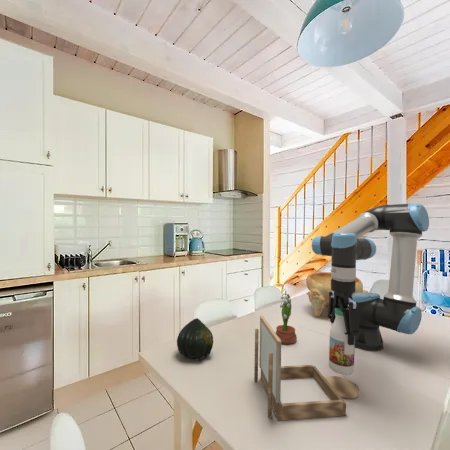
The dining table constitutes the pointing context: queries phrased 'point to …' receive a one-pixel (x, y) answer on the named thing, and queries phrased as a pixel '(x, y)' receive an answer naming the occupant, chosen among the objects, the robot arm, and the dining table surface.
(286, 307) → the potted flower
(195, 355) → the squash
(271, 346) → the lid
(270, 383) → the prop sticks
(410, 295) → the robot arm
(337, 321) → the milk bottle
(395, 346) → the dining table surface
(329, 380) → the disc
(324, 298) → the decorative bowl
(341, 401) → the cold frame
